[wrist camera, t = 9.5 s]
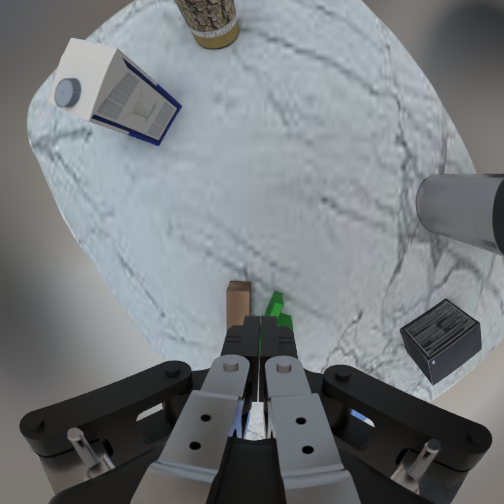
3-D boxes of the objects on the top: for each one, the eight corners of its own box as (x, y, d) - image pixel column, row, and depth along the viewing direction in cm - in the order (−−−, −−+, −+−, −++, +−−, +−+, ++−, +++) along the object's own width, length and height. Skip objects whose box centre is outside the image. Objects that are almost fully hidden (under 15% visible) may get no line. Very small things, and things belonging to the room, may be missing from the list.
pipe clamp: (271, 357, 43) (271, 374, 39) (249, 351, 43) (247, 367, 39) (298, 298, 41) (301, 311, 36) (274, 290, 40) (275, 302, 36)
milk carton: (183, 106, 35) (117, 46, 16) (159, 146, 37) (75, 117, 17) (145, 90, 35) (69, 36, 15) (124, 129, 36) (34, 98, 17)
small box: (407, 354, 42) (432, 388, 32) (398, 328, 41) (426, 361, 31) (452, 324, 40) (483, 350, 30) (446, 296, 39) (480, 321, 29)
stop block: (251, 281, 40) (249, 291, 36) (248, 389, 44) (247, 404, 41) (230, 281, 40) (226, 290, 36) (231, 388, 45) (228, 403, 41)
